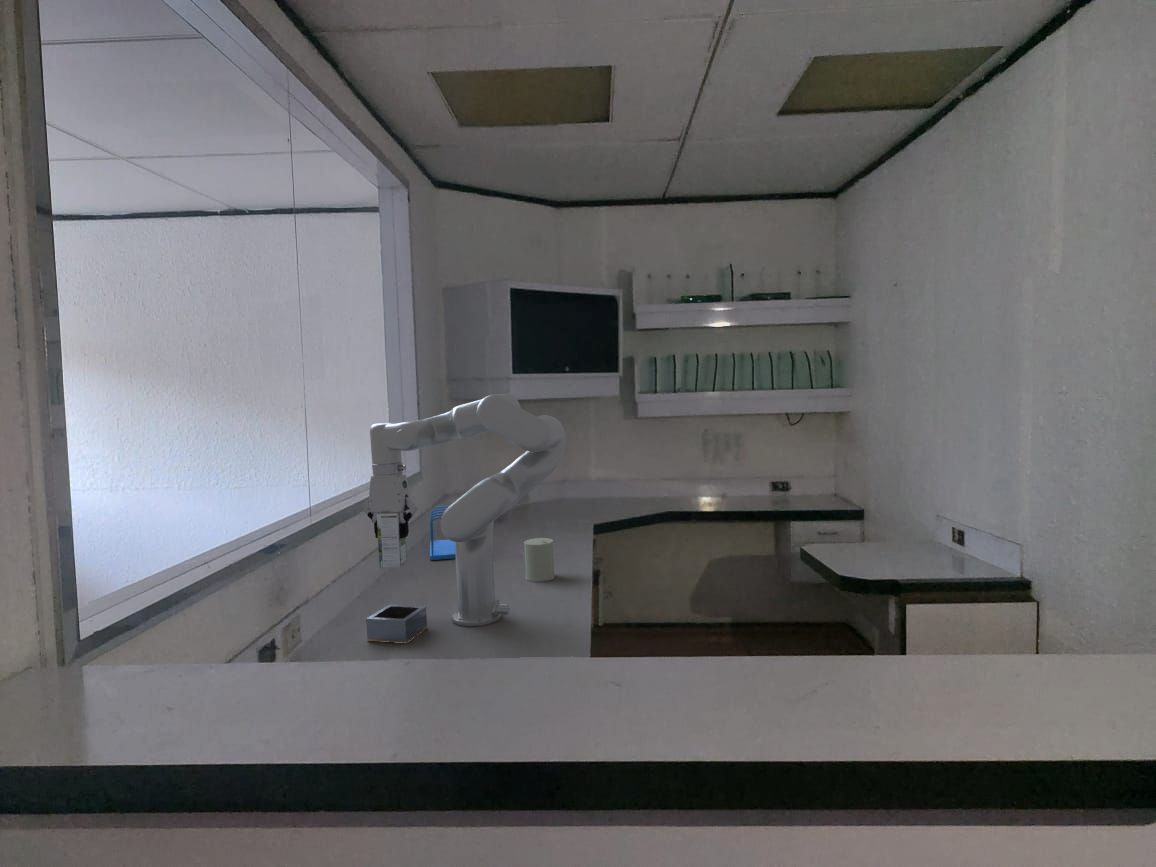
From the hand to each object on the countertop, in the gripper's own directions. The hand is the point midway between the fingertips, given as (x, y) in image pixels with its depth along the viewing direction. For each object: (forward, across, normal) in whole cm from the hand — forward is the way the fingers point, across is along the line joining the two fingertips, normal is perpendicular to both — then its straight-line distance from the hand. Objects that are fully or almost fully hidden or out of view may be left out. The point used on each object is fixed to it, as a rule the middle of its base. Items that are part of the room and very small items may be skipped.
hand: (391, 536), depth 178 cm
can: (+22, -27, -39) cm, 53 cm away
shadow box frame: (+21, -8, +13) cm, 26 cm away
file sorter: (+22, +16, -68) cm, 73 cm away
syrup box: (+8, 0, 0) cm, 8 cm away
